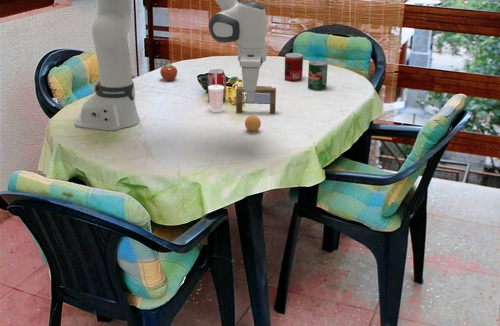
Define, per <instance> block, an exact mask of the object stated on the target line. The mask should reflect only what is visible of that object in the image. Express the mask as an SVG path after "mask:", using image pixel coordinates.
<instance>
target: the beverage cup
mask: <svg viewBox="0 0 500 326" xmlns="http://www.w3.org/2000/svg"><path fill="white" fill-rule="evenodd" d="M208 90H209V99H210V100H209V99H208V100H209V110H210V112H213V113H221V112H222V111H223V107H224V106H223V104H224V101H223V90H224V86H222V85H217V74H215V85H211V86H208V85H207V91H208Z"/></svg>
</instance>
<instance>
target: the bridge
mask: <svg viewBox="0 0 500 326" xmlns="http://www.w3.org/2000/svg"><path fill="white" fill-rule="evenodd" d="M235 90H236V91H235V94H236V95H235V98H236V99H235V100H236V101H235V103H236V106H235V107H236V108H235V110H236V112H235V113H238V114H242V113H243V103H242V101H243V93H246V92H245V91H244V88H243V86H236V89H235ZM276 92H277V87H272V88H269V87H256V91H255V94H270V104H269V114H272V115H276V102H277V101H276V99H277V98H276V97H277V93H276Z"/></svg>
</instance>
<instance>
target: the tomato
mask: <svg viewBox="0 0 500 326" xmlns="http://www.w3.org/2000/svg"><path fill="white" fill-rule="evenodd" d="M159 73H160V75H161V78H162V79H163V80H164V81H165V82H174V80H175V79H176V78H177V75H178V68H177V67H176V66H174V65H173V64H171V62H167V64H164V65H163V66H162V67H161V68H160V72H159Z"/></svg>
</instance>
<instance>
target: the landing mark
mask: <svg viewBox="0 0 500 326" xmlns="http://www.w3.org/2000/svg"><path fill="white" fill-rule="evenodd" d="M244 93H245V96H246V99H245V101H244V103H243V104H254V103H258V104H259V105H260V104H262V105H270V93H255V94H254V100H253V102H249V101H248V94H247V92H244Z"/></svg>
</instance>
